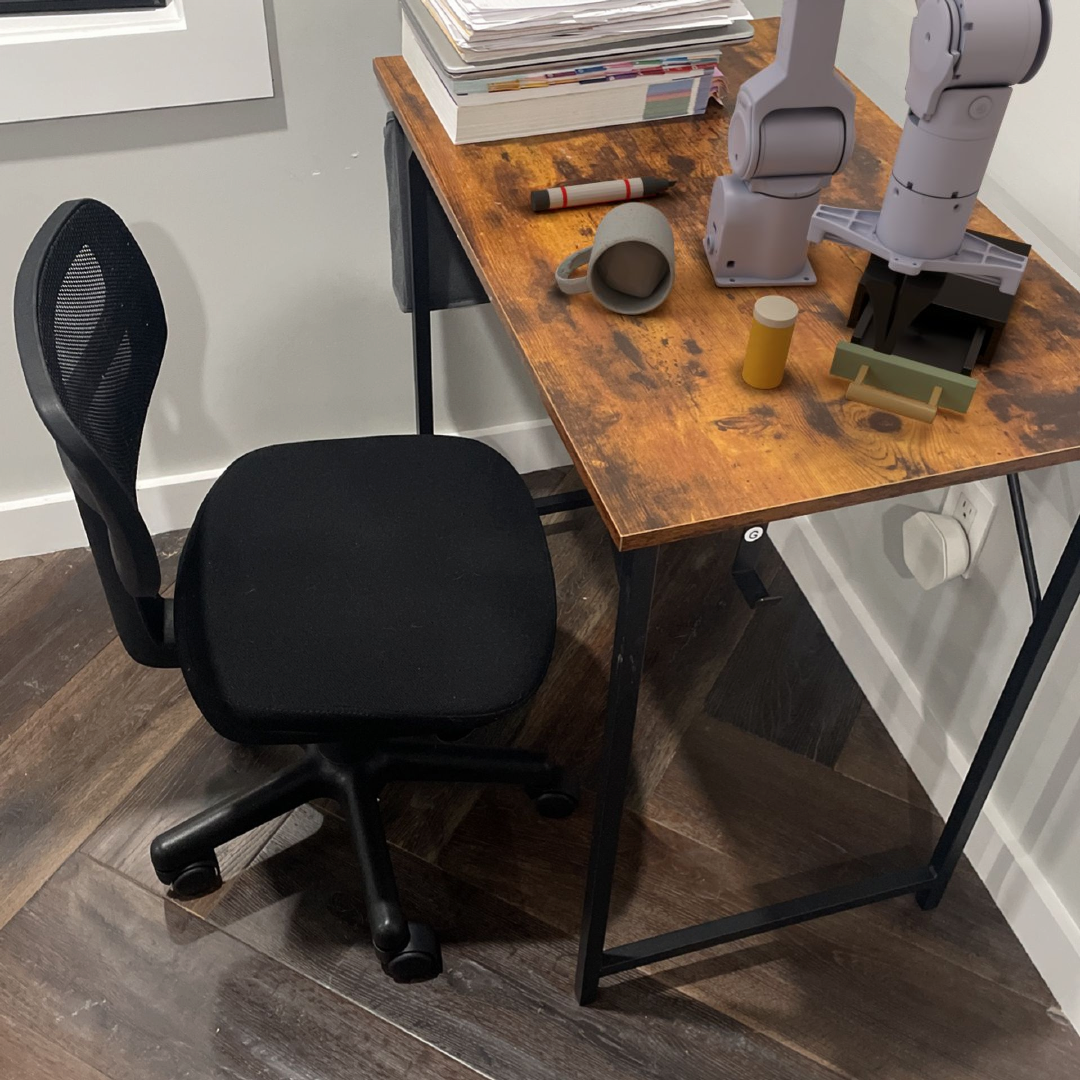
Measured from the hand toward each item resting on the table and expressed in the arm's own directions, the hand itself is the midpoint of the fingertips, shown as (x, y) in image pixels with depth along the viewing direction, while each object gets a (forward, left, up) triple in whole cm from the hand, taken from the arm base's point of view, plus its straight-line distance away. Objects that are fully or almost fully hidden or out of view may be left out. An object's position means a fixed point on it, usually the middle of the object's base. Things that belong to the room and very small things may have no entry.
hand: (885, 346), depth 84 cm
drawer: (+6, +8, -8) cm, 13 cm away
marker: (-16, +37, -9) cm, 42 cm away
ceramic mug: (-17, +21, -9) cm, 29 cm away
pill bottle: (-6, +8, -9) cm, 14 cm away
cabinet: (+12, +18, -9) cm, 24 cm away
